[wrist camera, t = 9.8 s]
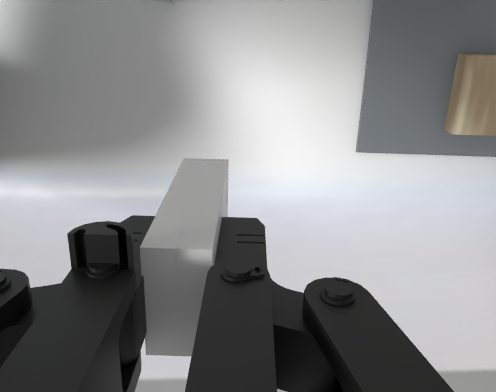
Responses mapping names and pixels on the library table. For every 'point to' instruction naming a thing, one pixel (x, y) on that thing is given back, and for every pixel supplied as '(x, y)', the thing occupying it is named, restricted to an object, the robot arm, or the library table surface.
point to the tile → (473, 96)
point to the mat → (421, 75)
